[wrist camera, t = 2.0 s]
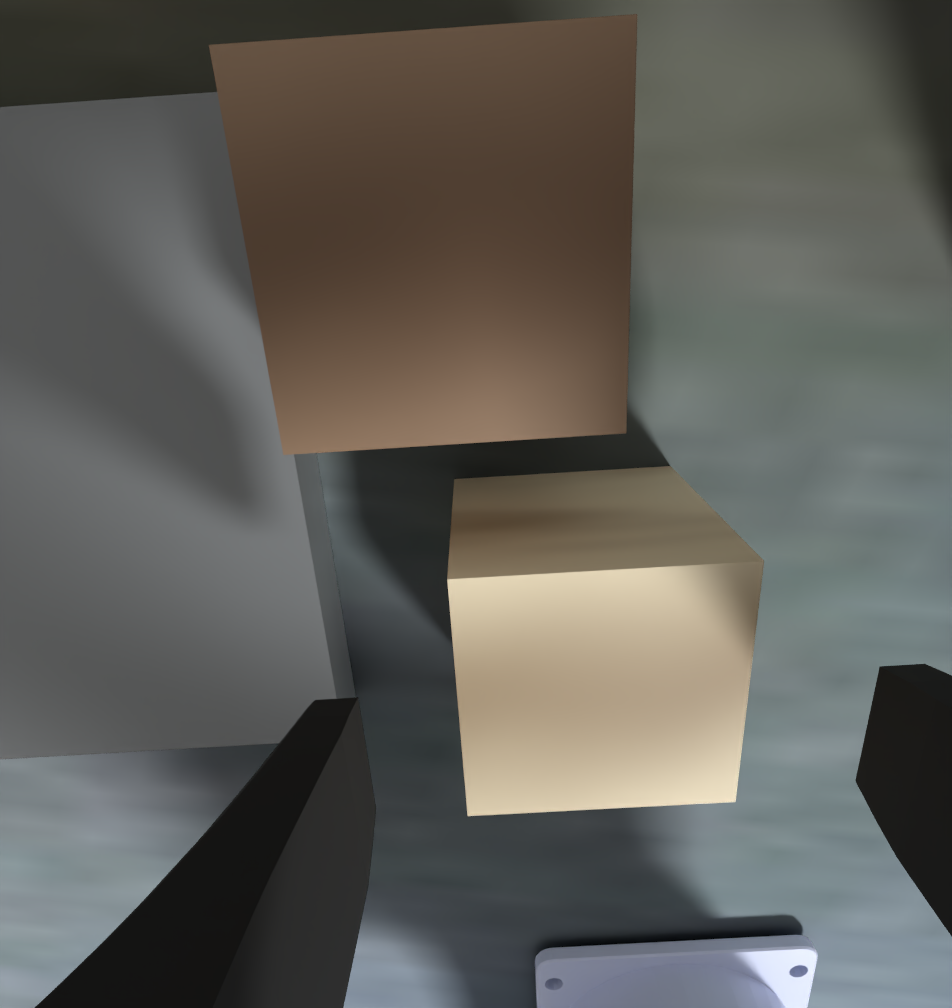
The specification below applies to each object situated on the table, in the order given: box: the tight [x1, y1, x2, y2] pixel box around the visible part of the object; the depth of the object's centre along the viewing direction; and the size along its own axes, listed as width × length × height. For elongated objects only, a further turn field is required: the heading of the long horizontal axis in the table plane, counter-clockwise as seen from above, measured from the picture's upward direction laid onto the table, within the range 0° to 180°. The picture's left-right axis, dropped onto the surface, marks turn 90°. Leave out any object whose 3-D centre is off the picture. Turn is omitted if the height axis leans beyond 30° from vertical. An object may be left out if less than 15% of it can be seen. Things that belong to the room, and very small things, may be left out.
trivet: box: [0, 92, 355, 759], centre depth 12 cm, size 12×12×2 cm
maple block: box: [447, 466, 764, 816], centre depth 12 cm, size 4×4×4 cm
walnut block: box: [209, 14, 637, 455], centre depth 9 cm, size 4×4×4 cm
